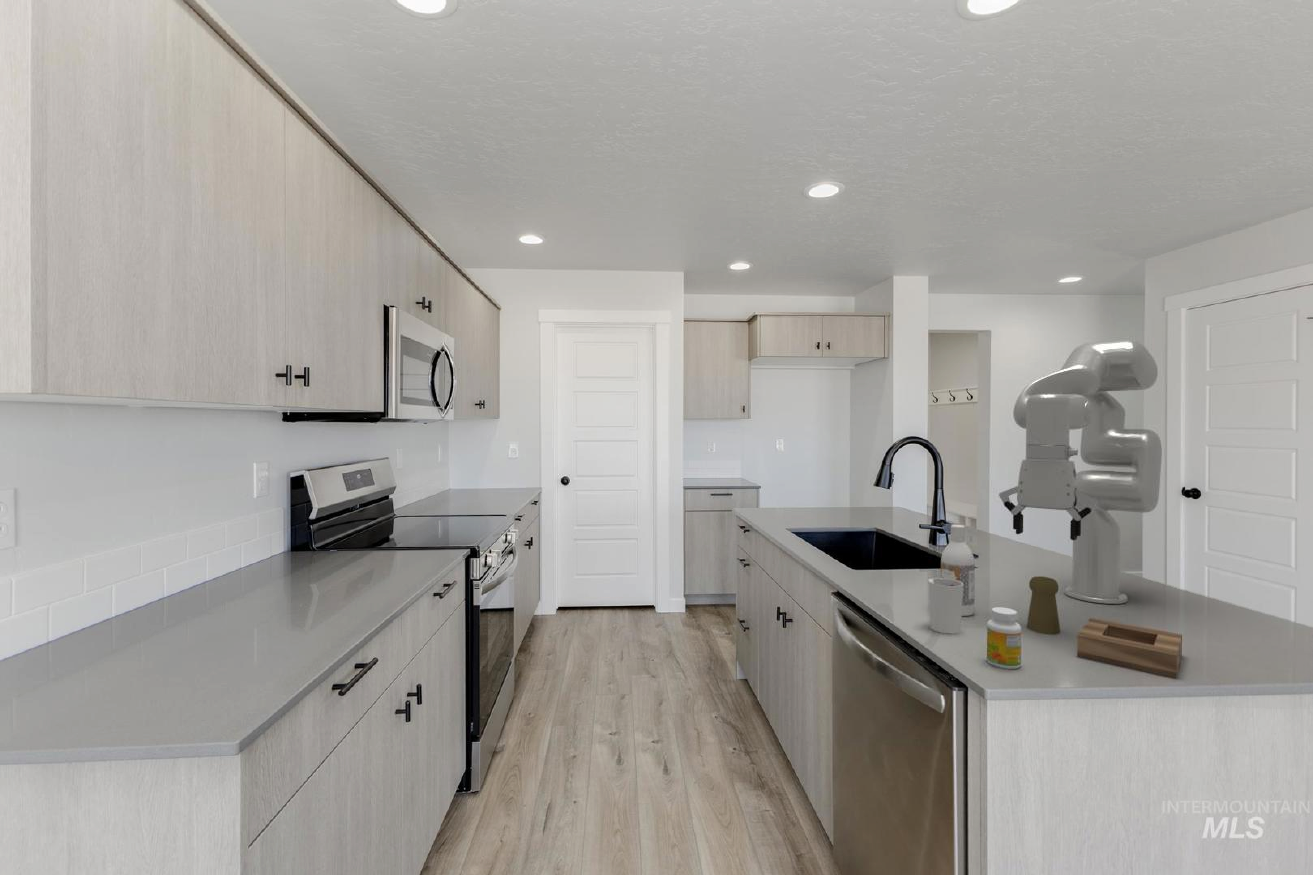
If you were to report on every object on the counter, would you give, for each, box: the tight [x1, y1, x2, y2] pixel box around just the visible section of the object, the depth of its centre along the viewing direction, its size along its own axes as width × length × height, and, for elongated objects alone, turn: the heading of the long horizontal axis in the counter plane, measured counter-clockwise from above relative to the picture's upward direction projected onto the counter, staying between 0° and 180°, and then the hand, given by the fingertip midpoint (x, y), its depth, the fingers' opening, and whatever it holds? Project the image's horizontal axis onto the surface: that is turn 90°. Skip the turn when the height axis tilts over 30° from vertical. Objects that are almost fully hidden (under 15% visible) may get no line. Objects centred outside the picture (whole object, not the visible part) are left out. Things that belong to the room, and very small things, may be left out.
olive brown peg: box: [1026, 576, 1061, 635], centre depth 127 cm, size 6×6×11 cm
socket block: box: [1076, 617, 1183, 679], centre depth 112 cm, size 14×14×4 cm
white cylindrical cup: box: [927, 577, 963, 635], centre depth 127 cm, size 7×7×10 cm
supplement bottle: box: [986, 606, 1022, 670], centre depth 109 cm, size 5×5×10 cm
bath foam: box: [940, 524, 976, 617], centre depth 138 cm, size 7×7×20 cm
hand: (1045, 536), depth 125 cm, fingers open, 9 cm apart
